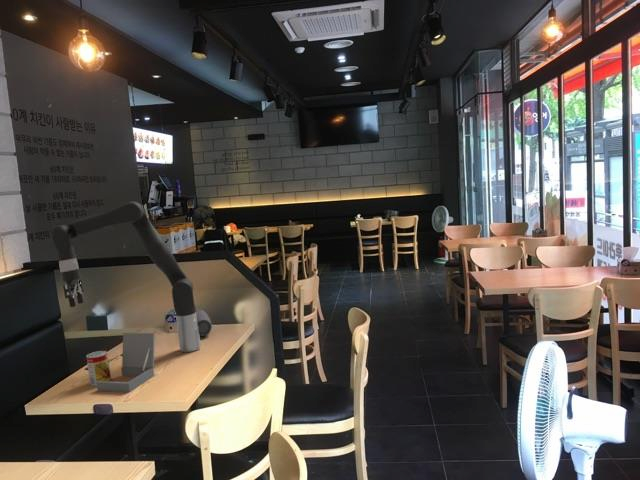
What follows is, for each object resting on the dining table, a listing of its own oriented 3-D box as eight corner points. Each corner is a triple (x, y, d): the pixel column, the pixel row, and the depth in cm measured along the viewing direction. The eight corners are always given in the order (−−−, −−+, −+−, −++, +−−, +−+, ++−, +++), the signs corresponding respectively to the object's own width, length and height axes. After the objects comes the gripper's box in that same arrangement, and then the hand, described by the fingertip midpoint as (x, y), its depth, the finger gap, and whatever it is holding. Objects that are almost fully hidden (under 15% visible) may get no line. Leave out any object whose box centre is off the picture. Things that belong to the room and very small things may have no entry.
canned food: (115, 379, 217) (111, 351, 216) (99, 387, 210) (95, 358, 209) (102, 377, 221) (98, 350, 220) (86, 384, 214) (82, 356, 213)
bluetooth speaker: (191, 328, 284) (189, 310, 283) (209, 325, 287) (207, 307, 286) (195, 339, 263) (192, 320, 262) (213, 336, 266) (211, 317, 264)
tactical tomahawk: (93, 374, 230) (93, 371, 229) (84, 370, 233) (84, 368, 233) (134, 356, 247) (133, 354, 246) (125, 354, 250) (125, 351, 250)
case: (97, 390, 207) (91, 348, 205) (129, 371, 226) (124, 332, 223) (129, 392, 202) (123, 349, 200) (160, 372, 221) (154, 332, 219)
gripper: (71, 270, 227) (79, 306, 229) (84, 266, 242) (91, 300, 243) (53, 273, 227) (61, 309, 228) (68, 269, 241) (75, 303, 242)
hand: (77, 305), depth 235 cm, fingers open, 8 cm apart
